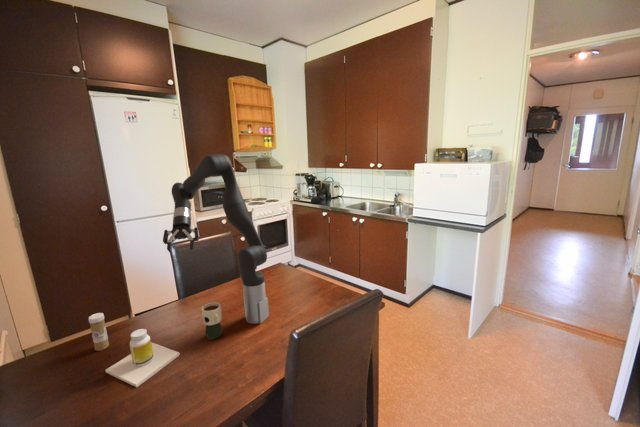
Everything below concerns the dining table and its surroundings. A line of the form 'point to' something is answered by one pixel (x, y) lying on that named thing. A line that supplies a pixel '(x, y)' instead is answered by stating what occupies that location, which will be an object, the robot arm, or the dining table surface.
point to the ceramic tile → (141, 373)
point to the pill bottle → (141, 347)
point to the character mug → (212, 319)
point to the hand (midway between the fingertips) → (180, 250)
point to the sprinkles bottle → (98, 331)
